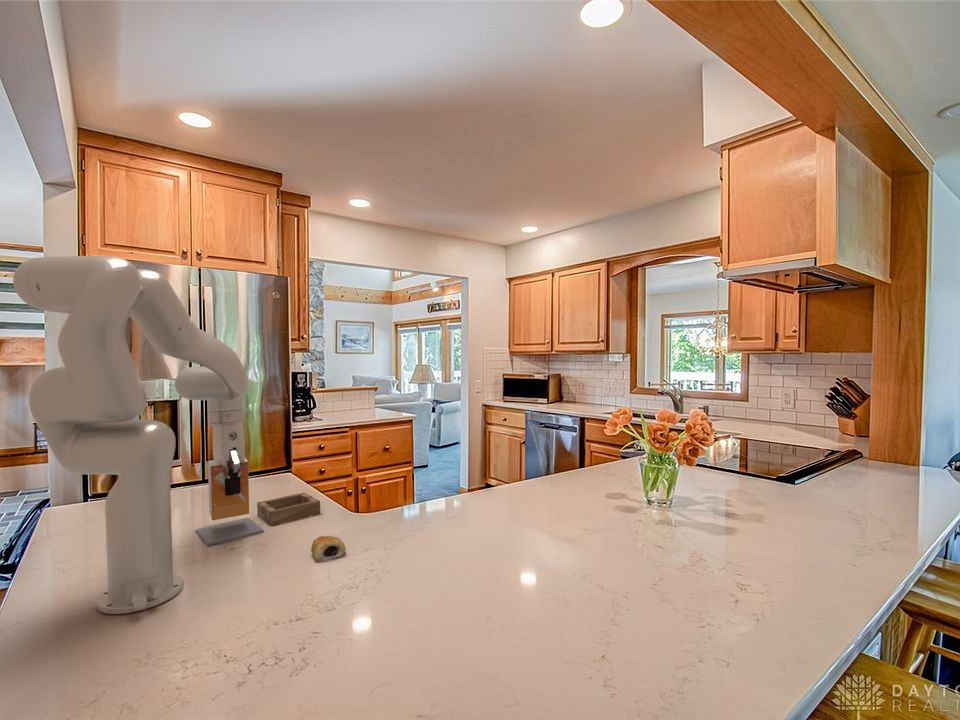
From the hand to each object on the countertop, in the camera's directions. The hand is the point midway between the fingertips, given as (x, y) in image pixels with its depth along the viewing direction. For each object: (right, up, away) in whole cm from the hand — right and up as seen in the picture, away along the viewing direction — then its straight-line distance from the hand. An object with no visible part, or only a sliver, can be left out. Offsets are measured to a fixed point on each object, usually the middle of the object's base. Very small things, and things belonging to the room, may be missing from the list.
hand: (228, 490), depth 115 cm
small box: (0, -6, 0) cm, 6 cm away
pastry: (+28, -11, -13) cm, 32 cm away
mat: (0, -10, 0) cm, 10 cm away
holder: (+10, -10, +12) cm, 18 cm away
